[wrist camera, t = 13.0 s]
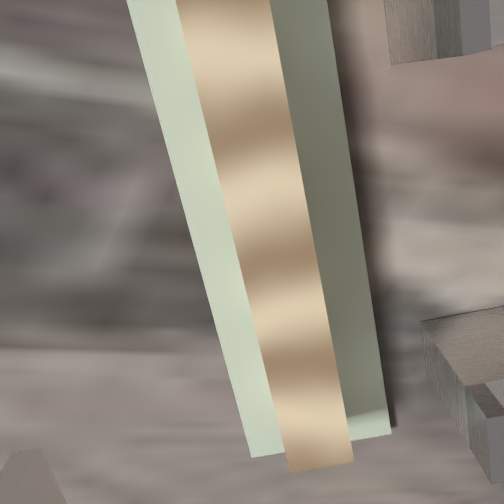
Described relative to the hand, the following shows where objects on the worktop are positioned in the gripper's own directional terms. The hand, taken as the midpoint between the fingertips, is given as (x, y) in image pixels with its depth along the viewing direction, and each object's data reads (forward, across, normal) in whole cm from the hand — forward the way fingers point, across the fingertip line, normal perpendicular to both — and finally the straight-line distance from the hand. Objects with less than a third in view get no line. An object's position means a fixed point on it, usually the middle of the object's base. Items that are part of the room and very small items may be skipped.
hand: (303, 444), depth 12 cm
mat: (+18, 0, 0) cm, 18 cm away
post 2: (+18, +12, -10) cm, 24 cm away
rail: (+18, 0, 0) cm, 18 cm away
